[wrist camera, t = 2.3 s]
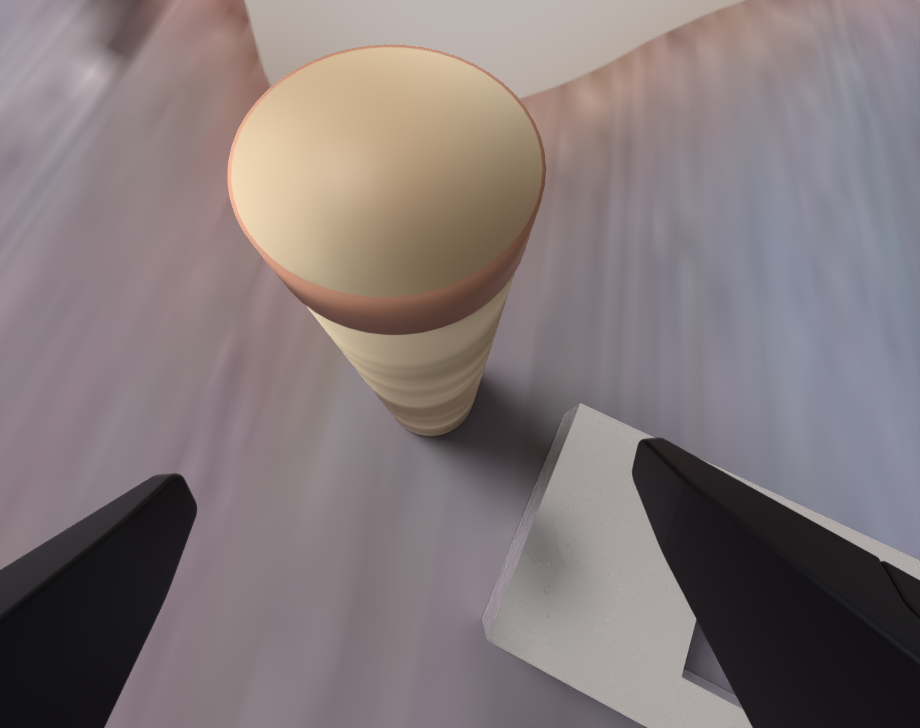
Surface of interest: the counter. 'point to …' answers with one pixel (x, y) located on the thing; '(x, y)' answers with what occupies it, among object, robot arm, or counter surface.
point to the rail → (613, 584)
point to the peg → (394, 213)
